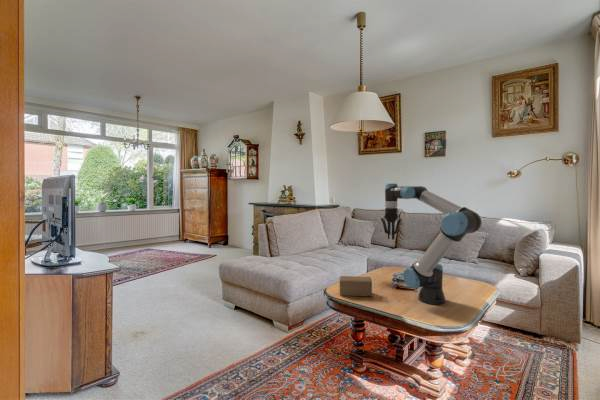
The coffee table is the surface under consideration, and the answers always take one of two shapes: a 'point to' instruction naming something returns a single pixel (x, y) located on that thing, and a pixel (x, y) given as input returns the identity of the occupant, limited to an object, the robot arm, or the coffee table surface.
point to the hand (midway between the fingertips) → (391, 244)
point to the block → (355, 286)
